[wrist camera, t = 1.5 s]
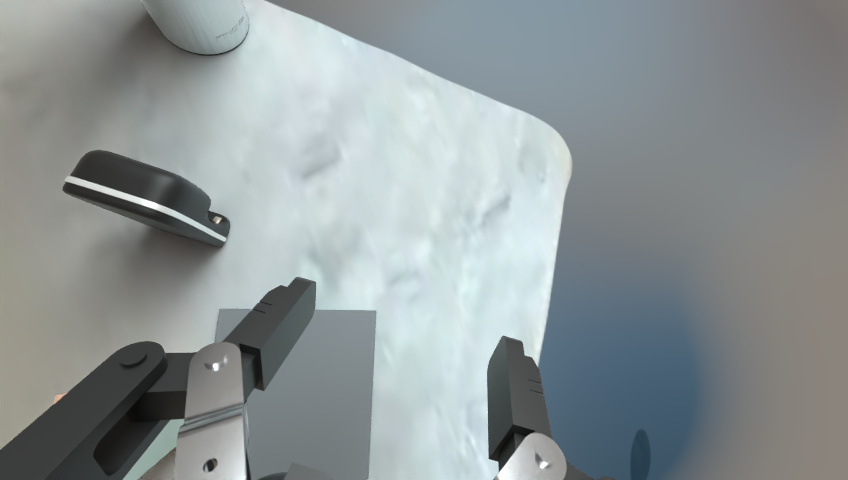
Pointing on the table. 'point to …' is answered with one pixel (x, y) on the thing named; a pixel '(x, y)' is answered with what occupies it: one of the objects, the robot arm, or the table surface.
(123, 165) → the battery charger
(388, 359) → the table surface
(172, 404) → the robot arm
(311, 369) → the mat
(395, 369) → the table surface
